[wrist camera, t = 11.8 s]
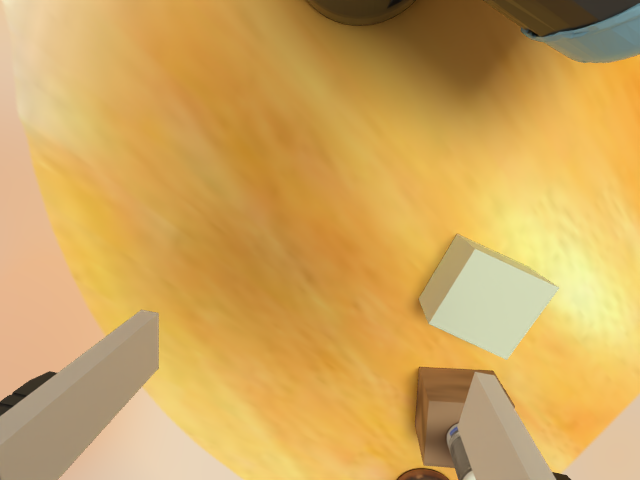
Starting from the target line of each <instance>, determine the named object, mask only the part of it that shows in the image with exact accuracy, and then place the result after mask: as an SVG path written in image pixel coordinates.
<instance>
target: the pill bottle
mask: <svg viewBox="0 0 640 480" xmlns="http://www.w3.org/2000/svg"><path fill="white" fill-rule="evenodd" d="M457 426H458V424H455V425H454V426H452V427H451V428H450V430H449V431H448V433H447V444H448V447H449V450H450V454H451V457H452V460H453V463H454V467H455V470H456V473H457V476H458V479H459V480H476V479H475V476H474V473H473V471H472V468H471V465H470V462H469V459H468V456H467V453H466V451H465V448H464V445H463V442H462V439H461V436H460V433H459V431H458V428H457Z"/></svg>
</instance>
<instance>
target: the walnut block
mask: <svg viewBox="0 0 640 480" xmlns="http://www.w3.org/2000/svg"><path fill="white" fill-rule="evenodd" d="M475 372H479V373H484V374H490V375H495V373H494V371H486V370H466V369H447V368H427V367H419V378H418V392H417V406H416V420H415V427H416V432H417V436H418V441H419V446H420V450H421V455H422V460H423V465H426V466H438V467H450V468H455V467H454V463H453V460H452V457H451V454H450V450H449V447H448V444H447V433H448V431H449V430H450V428H451V427H452V426H454V425H455V424H458V423H459V420H460V417H461V414H462V411H463V407H464V404H465V401H466V398H467V395H468V392H469V389H470V385H471V382H472V379H473V376H474V373H475ZM495 377H496V379H497V380H498V378H497V376H496V375H495ZM498 382H499V384H500V385H501V387H502V389H503V390H504V392H505V394H506V395H507V397H508V399H509V401H510V402H511V404H512V406H513V407H514V408H515V406H514V404H513V402H512V401H511V399H510V397H509V396H508V394H507V393H506V391H505V389H504V388H503V386H502V384H501V383H500V381H499V380H498Z"/></svg>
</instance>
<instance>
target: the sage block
mask: <svg viewBox="0 0 640 480" xmlns="http://www.w3.org/2000/svg"><path fill="white" fill-rule="evenodd" d="M558 289H559V287H557V286H556V285H554V284H553V283H551V282H550V281H548V280H547V279H546V278H544V277H543V276H541V275H540V274H538V273H537V272H535V271H534V270H532V269H531V268H529V267H528V266H525V265H523V264H521V263H519V262H517V261H515V260H513V259H510V258H508V257H506V256H504V255H502V254H500V253H498V252H495V251H493V250H491V249H489V248H487V247H485V246H483V245H480V244H478V243H476V242H474V241H472V240H470V239H468V238H465V237H463V236H461V235H459V234H457V235H456V237H455V238H454V240H453V242H452V243H451V245H450V247H449V248H448V250H447V252H446V253H445V255H444V257H443V258H442V260H441V262H440V264H439V265H438V267H437V269H436V270H435V272H434V274H433V275H432V277H431V279H430V280H429V282H428V284H427V285H426V287H425V289H424V290H423V292H422V294H421V295H420V297H419V302H420V304H421V307H422V309H423V311H424V314H425V316H426V319H427V321H428V323H429V324H430V325H432V326H434V327H437V328H439V329H441V330H443V331H445V332H448V333H450V334H452V335H454V336H456V337H458V338H461V339H463V340H465V341H467V342H469V343H471V344H474V345H476V346H478V347H480V348H482V349H484V350H487V351H489V352H491V353H493V354H495V355H497V356H500V357H502V358H504V359H506V360H507V359H508V358H509V356H510V355H511V353H512V352H513V351H514V349H515V348H516V347H517V345H518V344H519V343H520V341H521V340H522V338H523V337H524V336H525V334H526V333H527V332H528V330H529V329H530V327H531V326H532V325H533V323H534V322H535V321H536V319H537V318H538V317H539V315H540V314H541V312H542V311H543V310H544V308H545V307H546V306H547V304H548V303H549V301H550V300H551V299H552V297H553V296H554V295H555V293H556V292H557V290H558Z"/></svg>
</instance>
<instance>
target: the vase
mask: <svg viewBox="0 0 640 480" xmlns="http://www.w3.org/2000/svg"><path fill="white" fill-rule="evenodd" d="M398 480H448V479H447V478H446V477H445V476H444V475H442V474H441V473H438V472H436V471H432V470H428V469H416V470H411V471H409V472H407V473H405V474H403V475H402V476H400V477H399V478H398Z"/></svg>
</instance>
